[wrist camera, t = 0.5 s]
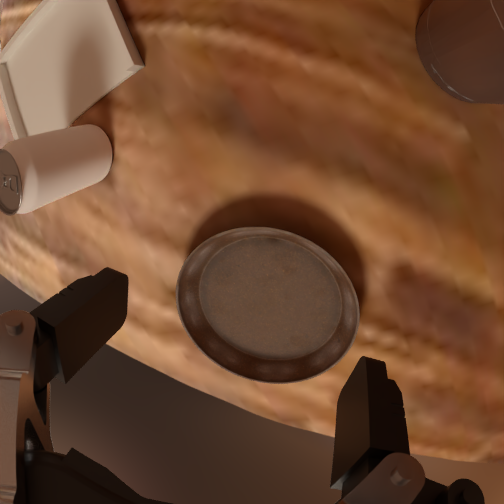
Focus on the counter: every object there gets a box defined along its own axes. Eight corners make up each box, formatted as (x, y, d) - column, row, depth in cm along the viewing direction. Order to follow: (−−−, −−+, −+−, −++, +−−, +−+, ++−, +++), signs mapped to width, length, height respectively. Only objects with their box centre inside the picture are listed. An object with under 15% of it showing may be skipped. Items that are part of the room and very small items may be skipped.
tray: (144, 66, 25) (134, 64, 24) (33, 160, 33) (23, 163, 31) (99, -40, 20) (89, -44, 19) (2, 63, 28) (-7, 63, 26)
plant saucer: (245, 176, 28) (235, 184, 25) (395, 295, 29) (400, 313, 26) (163, 302, 36) (150, 316, 34) (285, 386, 37) (280, 405, 34)
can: (73, 121, 29) (-16, 140, 19) (117, 127, 28) (23, 148, 18) (70, 176, 32) (-12, 210, 22) (112, 188, 31) (27, 229, 21)
